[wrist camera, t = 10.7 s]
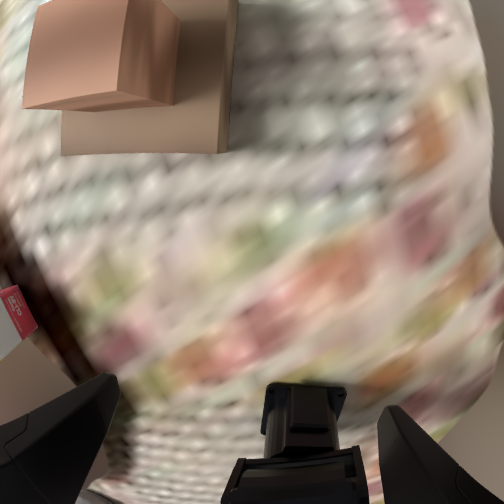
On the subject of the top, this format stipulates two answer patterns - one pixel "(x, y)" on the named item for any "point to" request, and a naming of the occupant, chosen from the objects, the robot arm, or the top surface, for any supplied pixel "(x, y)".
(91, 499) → the coffee pot
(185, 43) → the tan square slab
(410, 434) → the robot arm
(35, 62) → the terracotta cube
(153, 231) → the top surface
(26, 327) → the ink box
